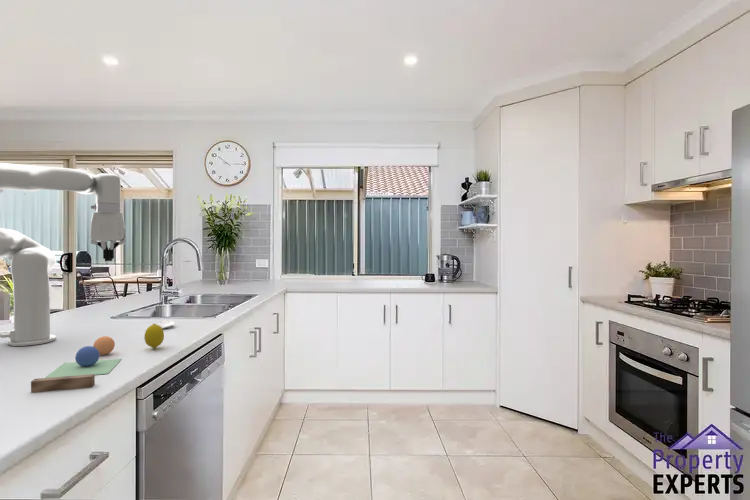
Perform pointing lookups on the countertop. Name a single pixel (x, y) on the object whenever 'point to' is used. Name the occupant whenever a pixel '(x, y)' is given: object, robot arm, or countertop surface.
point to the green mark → (84, 368)
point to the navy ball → (87, 356)
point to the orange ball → (104, 345)
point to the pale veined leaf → (165, 323)
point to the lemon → (154, 336)
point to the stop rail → (62, 383)
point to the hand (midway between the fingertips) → (108, 260)
